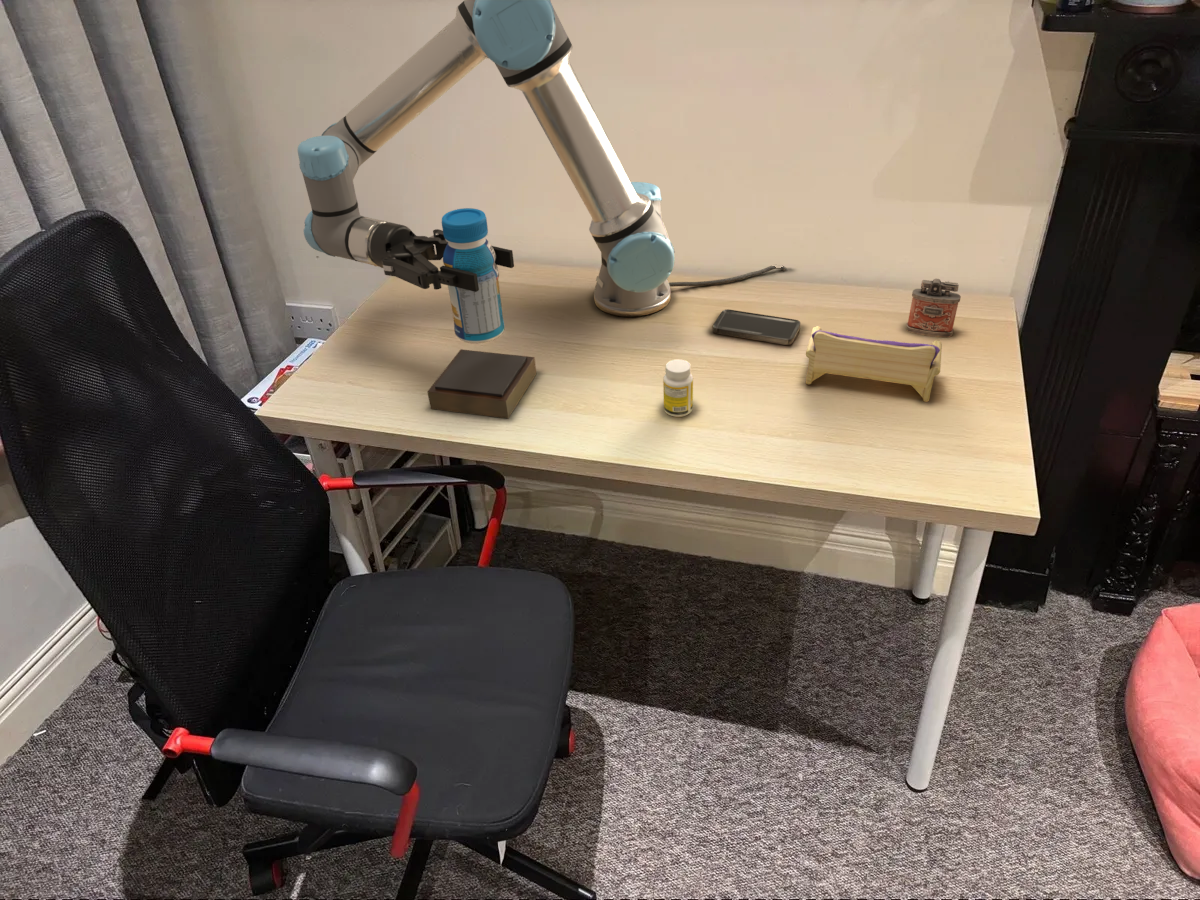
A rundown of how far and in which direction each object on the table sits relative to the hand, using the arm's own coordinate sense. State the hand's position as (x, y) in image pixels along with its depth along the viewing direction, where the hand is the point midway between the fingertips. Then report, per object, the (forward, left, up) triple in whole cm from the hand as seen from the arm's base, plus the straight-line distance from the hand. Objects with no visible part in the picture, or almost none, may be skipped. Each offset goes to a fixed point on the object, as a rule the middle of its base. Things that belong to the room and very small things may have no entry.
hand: (494, 270), depth 132 cm
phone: (-47, -12, -23) cm, 54 cm away
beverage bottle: (+4, -3, -12) cm, 13 cm away
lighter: (-77, -4, -24) cm, 80 cm away
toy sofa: (-60, +9, -24) cm, 65 cm away
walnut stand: (+4, -3, -23) cm, 24 cm away
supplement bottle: (-27, +10, -24) cm, 37 cm away
